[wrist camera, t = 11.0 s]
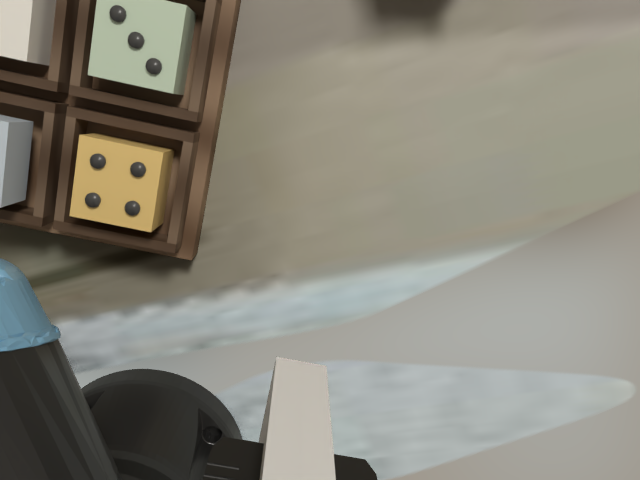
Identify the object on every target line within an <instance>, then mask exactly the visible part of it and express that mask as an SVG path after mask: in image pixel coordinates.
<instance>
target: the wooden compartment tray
mask: <svg viewBox="0 0 640 480" xmlns="http://www.w3.org/2000/svg"><path fill="white" fill-rule="evenodd" d="M166 1H170V2H175V3H179V4H183V5H187V6H188V7H189V8H190V9H191V10H193V11H194V12H195V13H196V14H197V15H196V21H195V27H194V34H193V40H192V46H191V52H190V59H189V65H188V71H187V78H186V84H185V90H184V95H179V94H172V93H168V92H163V91H158V90H154V89H149V88H145V87H140V86H136V85H131V84H127V83H122V82H117V81H113V80H108V79H104V78H99V77H95V76H90V75H88V68H89V60H90V51H91V43H92V35H93V27H94V19H95V10H96V2H97V0H56V9H55V18H54V27H53V36H52V46H51V55H50V64H49V66H48V65H42V64H37V63H32V62H26V61H22V60H17V59H13V58H8V57H3V56H0V115H5V116H9V117H14V118H19V119H24V120H28V121H33V132H32V142H31V151H30V161H29V171H28V180H27V190H26V199H25V200H23V201H20V202H17V203H14V204H11V205H8V206H4V207H1V208H0V223H5V224H10V225H15V226H20V227H25V228H30V229H36V230H41V231H46V232H51V233H56V234H61V235H66V236H71V237H76V238H81V239H86V240H91V241H96V242H101V243H106V244H111V245H116V246H121V247H126V248H131V249H136V250H141V251H146V252H151V253H157V254H162V255H167V256H172V257H177V258H182V259H187V260H192V259H193V258H194V257H195V255H196V254H197V251H198V245H199V240H200V234H201V228H202V222H203V216H204V211H205V205H206V199H207V193H208V188H209V182H210V176H211V170H212V165H213V159H214V153H215V147H216V142H217V136H218V130H219V124H220V119H221V113H222V107H223V101H224V95H225V90H226V84H227V78H228V72H229V67H230V61H231V55H232V49H233V44H234V38H235V32H236V26H237V21H238V15H239V9H240V3H241V0H166ZM92 133H100V134H105V135H109V136H114V137H119V138H123V139H128V140H133V141H138V142H142V143H147V144H152V145H156V146H161V147H166V148H171V149H175V150H174V157H173V163H172V169H171V176H170V182H169V188H168V195H167V201H166V207H165V214H164V220H163V223H162V224H161V225H160V226H159V227H157V228H156V229H155V230H154V231H152V232H147V231H142V230H137V229H132V228H127V227H122V226H117V225H112V224H107V223H102V222H97V221H92V220H87V219H82V218H77V217H72V216H70V208H71V199H72V191H73V183H74V175H75V167H76V158H77V150H78V142H79V135H82V134H92Z"/></svg>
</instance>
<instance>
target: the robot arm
mask: <svg viewBox="0 0 640 480" xmlns="http://www.w3.org/2000/svg"><path fill="white" fill-rule="evenodd" d="M60 336H61V335H60V331H59V329H58V327H56V326H54V325H51V323H50V321H49V319H48V318H47V316H46V314H45V312H44V310H43V308H42V306H41V305H40V303H39V301H38V299H37V297H36V295H35V293H34V291H33V289H32V288H31V286H30V284H29V282H28V280H27V278H26V277H25V275H24V274H23V272H22V271H21V270H20V269H19V268H17V267H16V266H15V265H13V264H12V263H10V262H8V261H6V260H4V259H1V258H0V480H377V476H376V473H375V472H374V471H373V469H372V468H371V467H370V465H369V464H368V463H367V461H366V460H365V459H359V458H353V457H347V456H341V455H336V454H334V452H333V440H332V428H331V416H330V404H329V392H328V380H327V368H326V366H324V365H318V364H313V363H307V362H302V361H296V360H291V359H285V358H280V357H276V361H275V366H274V371H273V376H272V381H271V385H270V390H269V395H268V400H267V405H266V409H265V414H264V419H263V424H262V429H261V433H260V438H259V443H257V442H252V441H246V440H242V436H241V433H240V430H239V428H238V426H237V424H236V422H235V420H234V418H233V417H232V415H231V414H230V412H229V411H228V410H227V408H226V407H225V406H224V405H223V404H222V402H221V401H220V400H219V399H218V398H217V397H216V396H214V395H213V394H212V393H211V392H209V391H208V390H207V389H205V388H204V387H202V386H201V385H199V384H197V383H196V382H194V381H192V380H190V379H187V378H185V377H182V376H180V375H177V374H174V373H170V372H166V371H160V370H152V369H132V370H125V371H120V372H116V373H112V374H109V375H106V376H103V377H101V378H99V379H96V380H95V381H93V382H91V383H89V384H88V385H86V386H84V387H83V388H82V389H81V388H80V386H79V383H78V381H77V379H76V377H75V375H74V373H73V370H72V368H71V366H70V364H69V362H68V359H67V357H66V355H65V353H64V351H63V349H62V346H61V344H60V342H59V340H58V338H60Z"/></svg>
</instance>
